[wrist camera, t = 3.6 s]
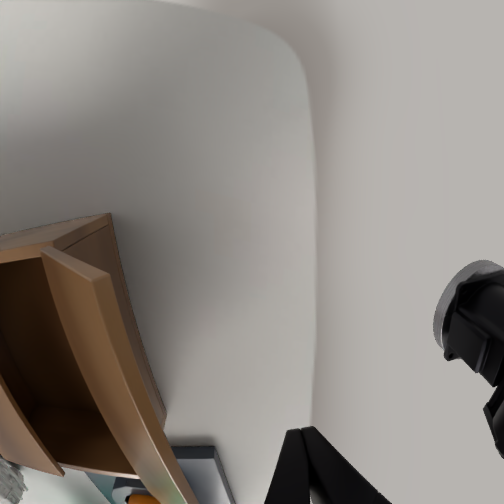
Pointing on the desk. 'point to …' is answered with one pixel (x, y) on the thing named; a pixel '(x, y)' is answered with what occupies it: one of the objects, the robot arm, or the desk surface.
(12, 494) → the toy car
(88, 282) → the flap
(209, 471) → the button box
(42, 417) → the carton
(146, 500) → the button
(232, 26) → the desk surface
